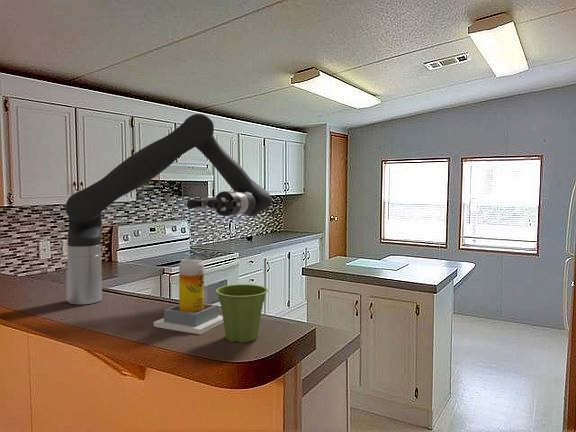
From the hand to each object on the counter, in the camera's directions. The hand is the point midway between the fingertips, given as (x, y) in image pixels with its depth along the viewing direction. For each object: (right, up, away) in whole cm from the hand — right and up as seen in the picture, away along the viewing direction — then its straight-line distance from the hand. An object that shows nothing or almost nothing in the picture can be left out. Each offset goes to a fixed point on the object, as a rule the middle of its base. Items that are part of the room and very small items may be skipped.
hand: (200, 204), depth 122 cm
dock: (0, -31, -11) cm, 32 cm away
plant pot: (+14, -31, -21) cm, 40 cm away
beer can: (0, -30, -11) cm, 31 cm away
